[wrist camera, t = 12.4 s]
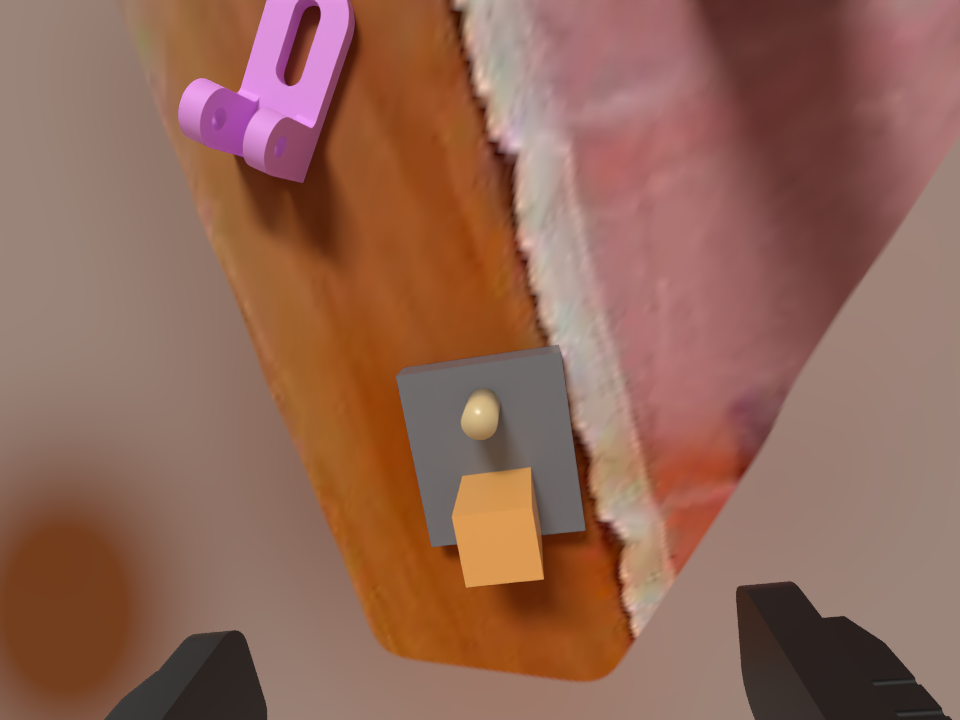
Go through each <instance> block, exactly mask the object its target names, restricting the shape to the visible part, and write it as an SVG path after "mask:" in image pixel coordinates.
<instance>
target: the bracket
mask: <svg viewBox="0 0 960 720" xmlns="http://www.w3.org/2000/svg"><path fill="white" fill-rule="evenodd" d="M310 6H318V7H320V10H321V19H320V22H319V25H318V28H317V31H316V35H315V38H314V41H313V44H312V47H311V50H310V53H309V56H308V59H307V62H306V66H305V69H304V72H303V75H302V78H301V80H300V81H299V83H297V84H296V85H294V86H287V84H286V83H285V80H284V71H285V68H286V65H287V62H288V58H289V55H290V52H291V49H292V46H293V43H294V39H295V36H296V33H297V30H298V27H299V23H300V20H301V17H302V14H303V12H304V11H305V9H307V8H308V7H310ZM354 27H355V17H354V11H353V7H352V4H351V2H350V0H267V1H266V5H265V8H264V11H263V15H262V18H261V21H260V25H259V28H258V32H257V35H256V38H255V42H254V45H253V48H252V52H251V55H250V59H249V62H248V65H247V69H246V72H245V75H244V79H243V82H242V86H241V89H240V90H239V92H237V93H235V92H233V91H231V90H229V89H227V88H225V87H222V86H220V85H218V84H216V83H214V82H212V81H209V80H207V79H204V78H200V79H197V80H195V81H193V82H192V83H191V84H190V85H189V86H188V87H187V88H186V90H185V92H184V93H183V96H182V98H181V101H180V105H179V113H178V118H179V124H180V128H181V130H182V132H183V133H184V135H185V136H186V137H188V138H190V139H192V140H194V141H196V142H199V143H201V144H203V145H205V146H207V147H210V148H213V149H216V150H220V151H223V152H227V153H231V154H234V155H238V156H241V157H244V159H245V161H246V163H247V164H248V165H249V166H251V167H253V168H255V169H257V170H260V171H262V172H264V173H266V174H268V175H271V176H274V177H279V178H283V179H287V180H291V181H296V182H300V183H303V182H304V179H305V176H306V173H307V170H308V167H309V165H310V162H311V159H312V156H313V153H314V150H315V147H316V144H317V141H318V138H319V135H320V132H321V129H322V126H323V123H324V120H325V117H326V114H327V111H328V108H329V106H330V103H331V100H332V97H333V94H334V91H335V88H336V85H337V82H338V79H339V76H340V73H341V70H342V67H343V64H344V61H345V58H346V55H347V52H348V49H349V47H350V44H351V41H352V37H353V34H354Z"/></svg>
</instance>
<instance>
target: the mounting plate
mask: <svg viewBox="0 0 960 720" xmlns="http://www.w3.org/2000/svg"><path fill="white" fill-rule="evenodd" d="M396 379H397V384H398V388H399V393H400V398H401V403H402V408H403V412H404V417H405V422H406V427H407V431H408V436H409V441H410V446H411V450H412V455H413V460H414V465H415V470H416V474H417V479H418V484H419V489H420V493H421V498H422V503H423V508H424V512H425V517H426V522H427V527H428V532H429V536H430V541H431V546H432V547H436V546H445V545H454V544H457V540H456V535H455V530H454V526H453V521H452V514H453V510H454V506H455V502H456V499H457V495H458V491H459V487H460V483H461V479H462V476H466V475H474V474H482V473H490V472H497V471H505V470H513V469H521V468H529V467H531V471H532V477H533V483H534V489H535V496H536V502H537V508H538V514H539V520H540V526H541V535H548V534H558V533H567V532H577V531H586V530H585V523H584V515H583V508H582V501H581V494H580V487H579V479H578V472H577V465H576V458H575V451H574V443H573V436H572V429H571V422H570V415H569V408H568V400H567V393H566V386H565V379H564V372H563V364H562V357H561V351H560V348H559V345H555V346H548V347H541V348H535V349H528V350H521V351H514V352H507V353H501V354H494V355H487V356H480V357H474V358H467V359H460V360H453V361H447V362H440V363H433V364H426V365H420V366H413V367H406V368H403V369H402V370H401V371H400V372H399V373H398V374H397V376H396Z"/></svg>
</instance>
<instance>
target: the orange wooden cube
mask: <svg viewBox="0 0 960 720" xmlns="http://www.w3.org/2000/svg"><path fill="white" fill-rule="evenodd" d="M452 521H453V526H454V530H455V535H456V540H457V545H458V550H459V555H460V560H461V565H462V570H463V574H464V579H465V584H466V587H474V586H484V585H494V584H503V583H513V582H523V581H533V580H543V579H544V571H543V553H542V535H541V526H540V520H539V514H538V508H537V502H536V496H535V489H534V483H533V477H532V471H531V467H529V468H521V469H513V470H505V471H497V472H490V473H482V474H474V475H466V476H462V479H461V483H460V487H459V491H458V495H457V499H456V502H455V506H454V510H453V514H452Z"/></svg>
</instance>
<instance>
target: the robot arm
mask: <svg viewBox="0 0 960 720" xmlns="http://www.w3.org/2000/svg"><path fill="white" fill-rule="evenodd" d="M736 603H737V615H738V628H739V642H740V654H741V668H742V676H743V682H744V686H745V690H746V694H747V697H748V701H749V704H750V707H751V710H752V713H753V716H754V718H755V720H952V719H951V718H950V717H949V716H945V715H944V713H943V712H942V708H941V707H940V705H939V704H938V703H937V702H936V701H935V700H934V699H933V698H932V696H931V695H930V694H929V693H928V692H927V691H926V689H924V687H923V686H922V685H918V684H917V683H916V681H915V677H914V676H913V675H912V674H911V673H910V671H909V670H908V669H907V668H906V667H905V666H904V664H903V663H902V662H901V661H900V660H899V659H898V658H897V657H896V656H895V654H894V653H893V652H892V651H891V650H890V648H889V647H888V646H887V645H886V644H885V643H884V642H883V641H881V640H880V639H878V638H877V637H875V636H874V635H872V634H870V633H869V632H867V631H866V630H864V629H863V628H861V627H860V626H858V625H857V624H855V623H854V622H852V621H851V620H849V619H848V618H846V617H844V616H840V617H829V618H822V617H821V615H820V614H819V613H818V612H817V610H816V609H815V608H814V606H813V605H812V604H811V602H810V601H809V600H808V599H807V597H806V596H805V595H804V593H803V592H802V591H801V590H800V588H799V587H798V586H797V585H796V584H795V583H793V582H778V583H768V584H756V585H745V586H739V587H738V588H737V591H736ZM104 720H267V707H266V703H265V699H264V696H263V693H262V689H261V686H260V683H259V680H258V676H257V673H256V670H255V667H254V664H253V660H252V657H251V654H250V651H249V648H248V644H247V641H246V639H245V637H244V635H243V634H242V633H241V632H239V631H236V630H234V631H223V632H214V633H213V632H212V633H201V634H193V635H191V636H189V637H188V638H186V639H185V640H184V641H183V642H182V643H181V645H180V646H179V647H178V648H177V650H176V651H175V652H174V653H173V654H172V655H171V657H170V658H169V659H168V660H167V661H166V662H165V664H164V665H163V666H162V667H161V669H160V670H159V671H157V672H155V673H154V674H153V675H151V676H150V677H149V678H148V679H146V680H145V681H144V682H143V683H142V684H140V685H139V686H138V687H136V688H135V689H134V690H133V691H131V692H130V693H129V694H128V695H126V696H125V697H124V698H123V699H122V700H121V701H120V702H119V703H118V704H117V705H116V706H115V708H114V709H113V710H112V711H111V712H110V713H109V714H108V716H107V717H106V718H105V719H104Z"/></svg>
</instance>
